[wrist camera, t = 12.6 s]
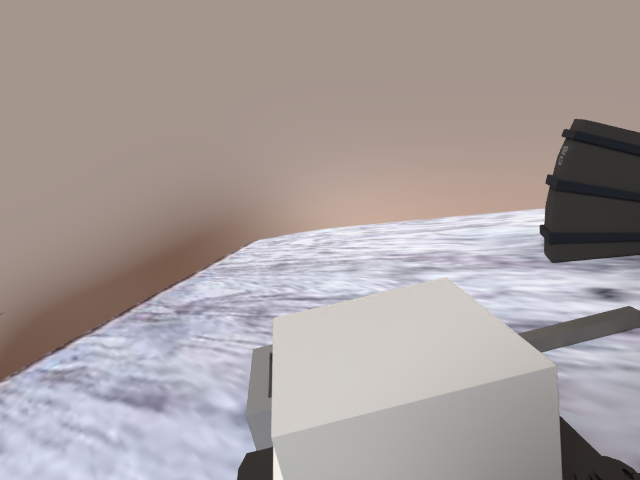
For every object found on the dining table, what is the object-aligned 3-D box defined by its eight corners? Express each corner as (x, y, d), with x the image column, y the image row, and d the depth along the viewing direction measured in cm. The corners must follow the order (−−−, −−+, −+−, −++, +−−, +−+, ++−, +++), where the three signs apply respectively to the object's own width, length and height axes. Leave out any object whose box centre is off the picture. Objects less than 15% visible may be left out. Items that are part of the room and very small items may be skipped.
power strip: (595, 302, 34) (594, 260, 33) (687, 348, 27) (690, 296, 26) (263, 385, 33) (251, 343, 32) (259, 460, 25) (243, 408, 24)
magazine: (512, 243, 47) (569, 118, 42) (627, 277, 45) (702, 149, 40) (519, 254, 44) (582, 118, 38) (644, 290, 42) (729, 153, 36)
